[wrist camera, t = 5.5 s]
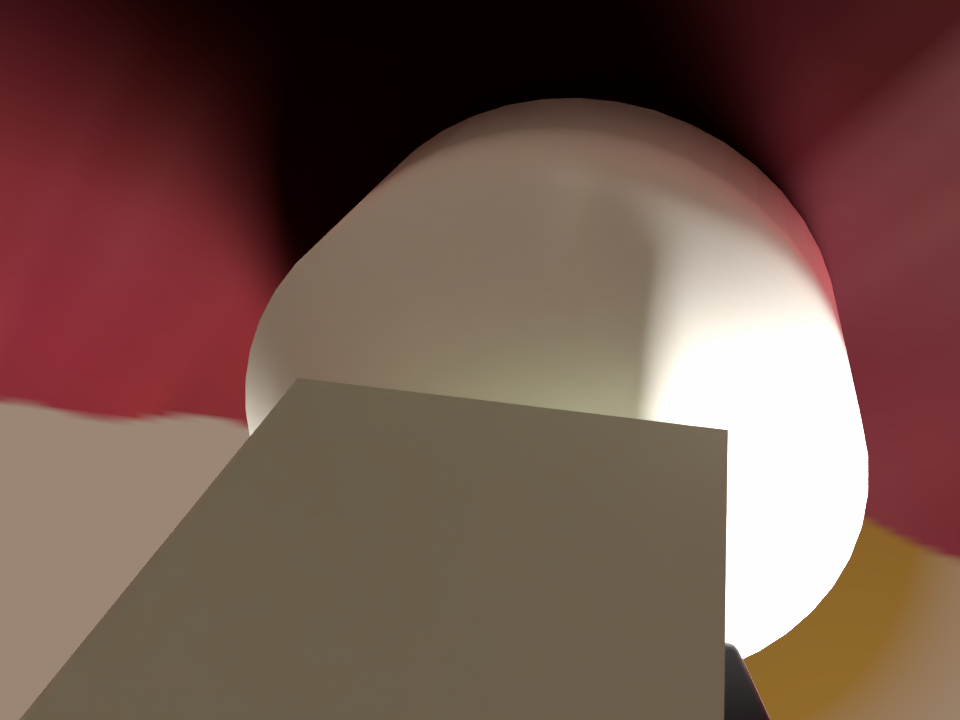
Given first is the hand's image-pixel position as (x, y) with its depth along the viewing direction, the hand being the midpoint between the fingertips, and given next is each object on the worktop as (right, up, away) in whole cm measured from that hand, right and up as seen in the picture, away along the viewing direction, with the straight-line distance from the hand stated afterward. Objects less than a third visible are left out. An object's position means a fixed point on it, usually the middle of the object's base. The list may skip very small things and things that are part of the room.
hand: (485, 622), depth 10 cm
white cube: (0, 0, +1) cm, 1 cm away
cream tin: (+2, +3, +5) cm, 7 cm away
